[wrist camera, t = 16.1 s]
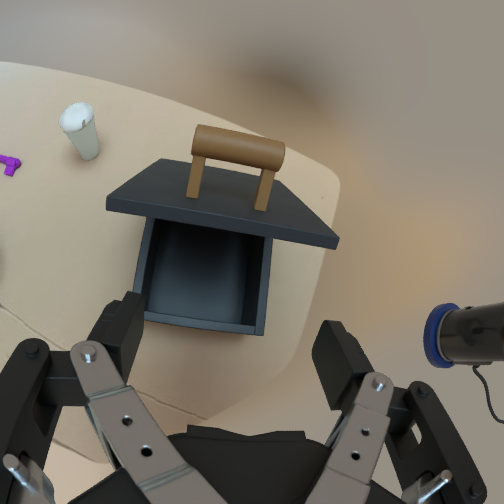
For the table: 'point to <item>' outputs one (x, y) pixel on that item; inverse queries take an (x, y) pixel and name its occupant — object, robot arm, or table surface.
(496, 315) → the robot arm
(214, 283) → the black open box
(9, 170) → the purple yellow rod
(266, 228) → the lid
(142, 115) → the table surface
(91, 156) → the milkshake
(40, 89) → the table surface
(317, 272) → the table surface
